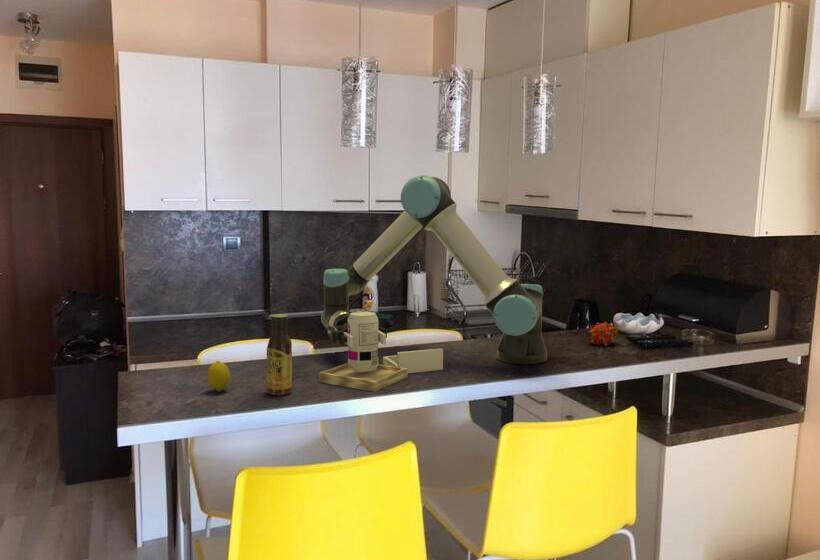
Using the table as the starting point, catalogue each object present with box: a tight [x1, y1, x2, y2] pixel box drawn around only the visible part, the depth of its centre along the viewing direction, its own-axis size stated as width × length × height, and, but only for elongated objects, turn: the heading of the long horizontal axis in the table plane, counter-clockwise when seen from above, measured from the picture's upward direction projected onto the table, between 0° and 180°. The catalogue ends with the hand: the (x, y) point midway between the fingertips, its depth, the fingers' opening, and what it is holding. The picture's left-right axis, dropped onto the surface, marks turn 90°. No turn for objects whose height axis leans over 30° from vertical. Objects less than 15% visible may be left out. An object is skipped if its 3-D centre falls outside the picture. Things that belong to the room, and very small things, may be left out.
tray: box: [318, 362, 409, 393], centre depth 178 cm, size 18×16×2 cm
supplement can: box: [347, 311, 380, 372], centre depth 177 cm, size 8×8×15 cm
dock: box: [382, 348, 444, 374], centre depth 192 cm, size 14×14×6 cm
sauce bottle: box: [266, 313, 293, 397], centre depth 165 cm, size 6×6×20 cm
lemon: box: [206, 360, 231, 393], centre depth 167 cm, size 6×6×8 cm
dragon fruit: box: [586, 320, 619, 347], centre depth 221 cm, size 8×8×12 cm
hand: (368, 340), depth 173 cm, fingers closed on supplement can, 8 cm apart
